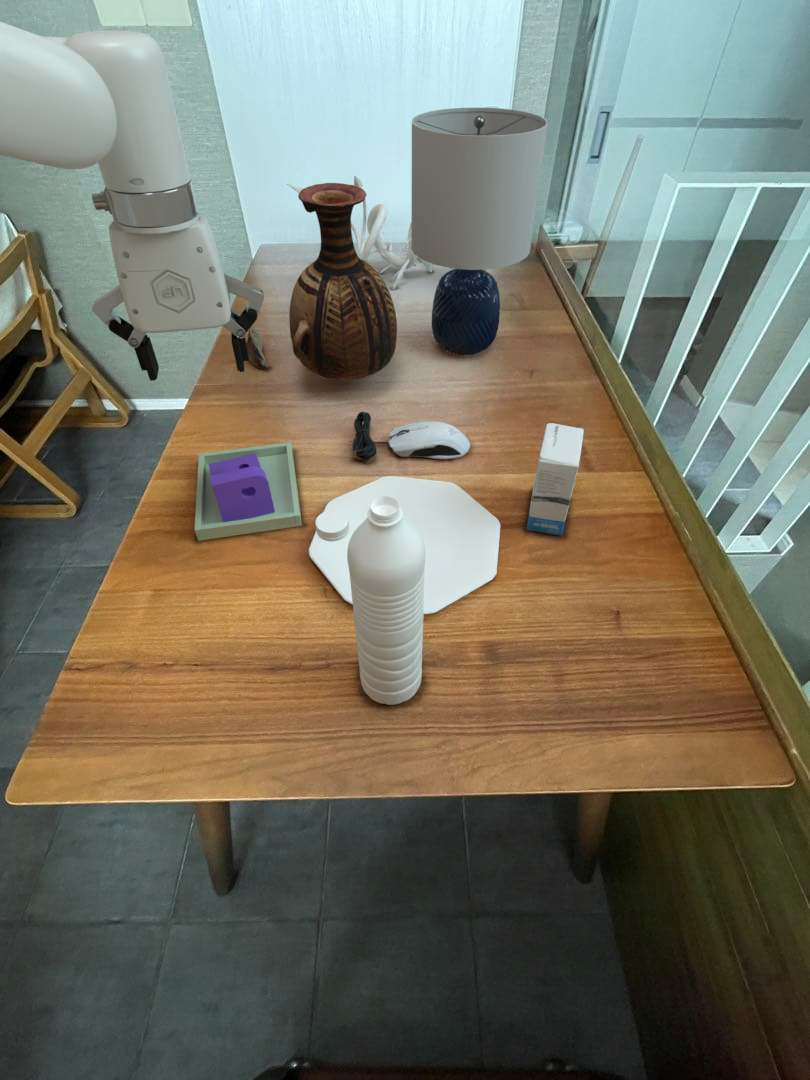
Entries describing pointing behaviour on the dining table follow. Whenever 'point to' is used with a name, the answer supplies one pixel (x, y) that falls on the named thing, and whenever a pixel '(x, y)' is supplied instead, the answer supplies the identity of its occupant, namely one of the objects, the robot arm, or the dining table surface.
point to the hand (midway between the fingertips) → (198, 370)
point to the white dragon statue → (374, 227)
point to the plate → (446, 529)
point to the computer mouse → (412, 440)
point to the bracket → (241, 488)
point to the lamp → (473, 211)
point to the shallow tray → (281, 484)
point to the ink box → (555, 478)
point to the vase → (340, 296)
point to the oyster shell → (256, 349)
